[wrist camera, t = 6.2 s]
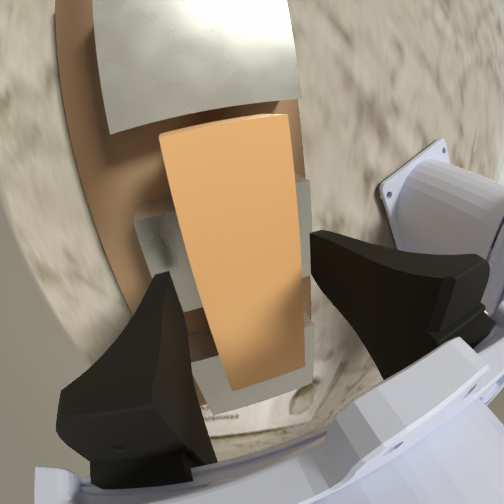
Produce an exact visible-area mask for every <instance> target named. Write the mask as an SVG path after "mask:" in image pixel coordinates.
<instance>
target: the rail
mask: <svg viewBox="0 0 504 504" xmlns="http://www.w3.org/2000/svg"><path fill="white" fill-rule="evenodd" d="M92 2H93V20H94V33H95V44H96V53H97V61H98V69H99V76H100V83H101V89H102V95H103V101H104V106H105V112H106V117H107V122H108V127H109V132H110V135H111V134H114V133H117V132H120V131H124V130H127V129H130V128H134V127H137V126H141V125H145V124H149V123H152V122H156V121H160V120H164V119H169V118H173V117H177V116H182V115H187V114H191V113H196V112H201V111H207V110H212V109H218V108H224V107H231V106H237V105H244V104H252V103H260V102H270V101H280V100H292V99H302V97H301V89H300V81H299V73H298V66H297V59H296V52H295V46H294V39H293V33H292V27H291V22H290V16H289V10H288V5H287V0H92ZM294 174H295V173H294ZM295 185H296V196H297V207H298V220H299V233H300V248H301V264H302V278H303V277H307V276H310V275H311V264H310V237H309V233H312V215H311V197H310V182H309V180H307V179H305V178H303V177H301V176H299V175H297V174H295ZM133 224H134V227H135V230H136V233H137V236H138V239H139V242H140V245H141V248H142V251H143V254H144V257H145V260H146V263H147V266H148V268H149V271H150V274H151V277H152V279H153V277H154V275H155V274H159V273H163V272H166V271H170V275H171V278H172V281H173V284H174V286H175V289H176V292H177V295H178V298H179V301H180V304H181V307H182V309H183V312H187V311H190V310H194V309H198V308H201V307H203V305H202V302H201V298H200V295H199V292H198V289H197V285H196V282H195V279H194V275H193V272H192V268H191V265H190V262H189V258H188V255H187V251H186V247H185V244H184V240H183V236H182V233H181V229H180V225H179V221H178V218H177V214H176V210H175V206H174V202H173V198H172V196H168V197H164V198H160V199H157V200H153V201H149V202H146V203H142V204H139V205H137V208H136V212H135V217H134V221H133ZM304 335H305V367H303V368H300V369H298V370H295V371H292V372H290V373H287V374H284V375H281V376H279V377H276V378H273V379H270V380H267V381H264V382H261V383H258V384H255V385H252V386H248V387H245V388H242V389H239V390H235V391H232V390H231V387H230V384H229V381H228V379H227V376H226V373H225V370H224V368H223V365H222V362H221V359H220V356H219V353H218V350H217V348H216V345H215V342H214V339H213V336H212V333H211V330H210V329H206V330H202V331H199V332H195V333H191V334H188V340H189V349H190V358H191V367H192V374H193V376H194V378H195V380H196V382H197V384H198V386H199V388H200V390H201V392H202V394H203V396H204V398H205V400H206V402H207V404H208V406H209V408H210V410H211V412H212V414H213V415H216V414H220V413H224V412H228V411H231V410H235V409H238V408H242V407H245V406H248V405H251V404H255V403H258V402H261V401H264V400H267V399H270V398H273V397H276V396H279V395H281V394H284V393H287V392H290V391H292V390H295V389H298V388H300V387H303V386H306V385H308V384H311V383H312V382H313V350H314V324H313V323H312V321H311V320H310V318H309V317H308V316H307V314H306V313H305V311H304Z"/></svg>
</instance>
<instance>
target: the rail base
mask: <svg viewBox="0 0 504 504" xmlns="http://www.w3.org/2000/svg"><path fill="white" fill-rule="evenodd" d="M55 23H56V43H57V56H58V66H59V75H60V83H61V90H62V96H63V103H64V108H65V114H66V119H67V124H68V129H69V134H70V139H71V143H72V147H73V152H74V156H75V160H76V164H77V167H78V171H79V175H80V178H81V182H82V185H83V189H84V192H85V195H86V199H87V202H88V205H89V208H90V211H91V214H92V217H93V220H94V223H95V226H96V229H97V232H98V235H99V237H100V240H101V243H102V245H103V248H104V251H105V253H106V256H107V258H108V261H109V263H110V266H111V268H112V271H113V273H114V275H115V278H116V280H117V283H118V285H119V287H120V289H121V292H122V294H123V296H124V298H125V301H126V303H127V305H128V307H129V309H130V311H131V313H132V315H134V313H135V312H136V310H137V308H138V306H139V304H140V303H141V301H142V299H143V297H144V295H145V293H146V291H147V289H148V287H149V285H150V283H151V281H152V277H151V274H150V271H149V268H148V266H147V263H146V260H145V257H144V254H143V251H142V248H141V245H140V242H139V239H138V236H137V233H136V230H135V227H134V224H133V221H134V217H135V212H136V208H137V205H139V204H142V203H146V202H149V201H153V200H157V199H160V198H164V197H168V196H172V194H171V190H170V186H169V181H168V177H167V173H166V169H165V164H164V160H163V155H162V151H161V146H160V141H159V135H160V134H161V133H165V132H169V131H173V130H177V129H181V128H186V127H190V126H195V125H199V124H204V123H209V122H214V121H220V120H225V119H231V118H237V117H243V116H250V115H257V114H288V120H289V128H290V136H291V145H292V154H293V164H294V173H295V174H297V175H299V176H301V177H303V178H305V169H304V157H303V146H302V136H301V126H300V117H299V108H298V99H292V100H280V101H270V102H260V103H252V104H244V105H237V106H231V107H224V108H218V109H212V110H207V111H201V112H196V113H191V114H187V115H182V116H177V117H173V118H169V119H164V120H160V121H156V122H152V123H149V124H145V125H141V126H137V127H134V128H130V129H127V130H124V131H120V132H117V133H114V134H111V135H110V132H109V127H108V122H107V117H106V112H105V106H104V101H103V95H102V89H101V83H100V76H99V69H98V61H97V53H96V44H95V33H94V20H93V2H92V0H56V1H55ZM302 283H303V305H304V311H305V313H306V314H307V316H308V317H309V318H310V320H311V287H310V276H307V277H303V278H302ZM183 313H184V318H185V322H186V327H187V331H188V334H191V333H195V332H199V331H202V330H206V329H210V327H209V324H208V320H207V317H206V314H205V311H204V308H203V307H201V308H198V309H194V310H190V311H187V312H183ZM192 375H193V374H192ZM193 381H194V386H195V390H196V393H197V397H198V401H199V405H200V406H201V405H205V404H207V402H206V400H205V398H204V396H203V394H202V392H201V390H200V388H199V386H198V384H197V382H196V380H195V378H194V376H193Z"/></svg>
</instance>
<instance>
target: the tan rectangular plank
mask: <svg viewBox="0 0 504 504" xmlns="http://www.w3.org/2000/svg"><path fill="white" fill-rule="evenodd" d="M159 141H160V146H161V151H162V155H163V160H164V164H165V169H166V173H167V177H168V181H169V186H170V190H171V194H172V198H173V202H174V206H175V210H176V214H177V218H178V221H179V225H180V229H181V233H182V236H183V240H184V244H185V247H186V251H187V255H188V258H189V262H190V265H191V268H192V272H193V275H194V279H195V282H196V285H197V289H198V292H199V295H200V298H201V302H202V305H203V308H204V311H205V314H206V317H207V320H208V324H209V327H210V330H211V333H212V336H213V339H214V342H215V345H216V348H217V350H218V353H219V356H220V359H221V362H222V365H223V368H224V370H225V373H226V376H227V379H228V381H229V384H230V387H231V390H232V391H235V390H239V389H242V388H245V387H248V386H252V385H255V384H258V383H261V382H264V381H267V380H270V379H273V378H276V377H279V376H281V375H284V374H287V373H290V372H292V371H295V370H298V369H300V368H303V367H305V335H304V305H303V283H302V264H301V248H300V233H299V220H298V207H297V196H296V185H295V174H294V164H293V154H292V145H291V136H290V128H289V120H288V114H257V115H250V116H243V117H237V118H231V119H225V120H220V121H214V122H209V123H204V124H199V125H195V126H190V127H186V128H181V129H177V130H173V131H169V132H165V133H161V134H160V135H159Z"/></svg>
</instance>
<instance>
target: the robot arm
mask: <svg viewBox="0 0 504 504" xmlns="http://www.w3.org/2000/svg"><path fill="white" fill-rule="evenodd" d="M379 192H380V195H381V198H382V201H383V204H384V207H385V210H386V213H387V216H388V220H389V223H390V226H391V230H392V233H393V237H394V240H395V244H396V248H397V250H395V249H390V248H386V247H382V246H378V245H374V244H370V243H367V242H364V241H360V240H357V239H354V238H350V237H347V236H344V235H341V234H337V233H334V232H330V231H325V230H320V231H316V232H312V233H309V237H310V264H311V275H312V276H313V278H314V280H315V281H316V283H317V284H318V286H319V287H320V289H321V290H322V292H323V293H324V294H325V295H326V296H327V298H328V299H329V300H330V301H331V302H332V304H333V305H334V306H335V307H336V308H337V309H338V311H339V312H340V313H341V314H342V315H343V316H344V318H345V319H346V320H347V321H348V322H349V323H350V325H351V326H352V327H353V329H354V330H355V331H356V333H357V334H358V336H359V338H360V339H361V341H362V342H363V344H364V345H365V347H366V349H367V350H368V352H369V354H370V355H371V357H372V359H373V361H374V362H375V364H376V366H377V368H378V370H379V372H380V374H381V376H382V377H383V379H384V380H383V381H382V382H380V383H378V384H376V385H374V386H372V387H371V388H369V389H368V390H366V391H365V392H363V393H362V394H360V395H358V396H357V397H355V398H354V399H352V400H351V401H350V402H349V403H348V404H347V405H346V406H344V407H343V408H342V409H341V410H340V411H339V412H338V413H337V414H336V415H335V417H334V418H333V420H332V422H331V423H330V425H328V426H326V427H323V428H321V429H319V430H316V431H314V432H311V433H309V434H306V435H304V436H301V437H299V438H296V439H293V440H291V441H288V442H285V443H282V444H280V445H277V446H274V447H271V448H268V449H265V450H261V451H258V452H255V453H252V454H248V455H245V456H241V457H237V458H234V459H230V460H226V461H222V462H218V461H217V458H216V456H215V453H214V450H213V447H212V444H211V441H210V438H209V435H208V432H207V429H206V425H205V422H204V419H203V415H202V412H201V408H200V405H199V401H198V397H197V393H196V390H195V386H194V381H193V375H192V367H191V358H190V349H189V340H188V331H187V327H186V322H185V318H184V313H183V309H182V307H181V304H180V301H179V298H178V295H177V292H176V289H175V286H174V284H173V281H172V278H171V275H170V271H166V272H163V273H159V274H155V275H154V277H153V279H152V281H151V283H150V285H149V287H148V289H147V291H146V293H145V295H144V297H143V299H142V301H141V303H140V304H139V306H138V308H137V310H136V312H135V313H134V315H133V317H132V318H131V320H130V322H129V323H128V325H127V326H126V327H125V329H124V330H123V332H122V333H121V334H120V336H119V337H118V338H117V339H116V341H115V342H114V343H113V344H112V345H111V346H110V347H109V349H108V350H107V351H106V352H105V353H104V354H103V355H102V356H101V357H100V358H99V359H98V360H97V361H96V362H95V363H94V364H93V365H92V366H91V367H90V368H89V369H88V370H87V371H86V372H84V373H83V374H82V375H81V376H80V377H78V378H77V379H76V380H75V381H73V382H72V383H71V384H69V385H68V386H67V387H66V388H64V389H63V390H61V394H60V399H59V405H58V413H57V421H56V432H57V433H58V435H59V437H60V438H61V439H62V440H63V441H64V442H65V443H66V444H67V445H68V446H69V447H71V448H72V449H74V450H75V451H76V452H77V453H79V454H80V455H82V456H83V457H84V458H86V459H87V460H89V461H90V477H91V478H80V477H79V476H78V475H76V474H75V473H73V472H71V471H70V470H67V469H64V468H59V467H44V466H36V467H35V487H34V488H35V489H34V502H35V503H34V504H504V426H503V424H502V423H501V422H500V421H499V420H498V418H497V417H496V416H495V415H494V414H493V413H492V411H491V410H490V409H489V408H488V407H487V405H488V404H489V403H490V402H491V401H492V400H493V398H494V397H495V396H496V395H497V394H498V393H499V392H500V391H501V389H502V388H503V387H504V185H503V184H500V183H498V182H496V181H493V180H491V179H489V178H486V177H484V176H481V175H479V174H476V173H473V172H471V171H468V170H465V169H463V168H460V167H457V166H454V165H451V164H450V161H449V156H448V151H447V146H446V142H445V140H444V139H441V138H439V139H437V140H436V141H435V142H434V143H432V144H431V145H430V146H428V147H427V148H426V149H425V150H423V151H422V152H421V153H419V154H418V155H417V156H416V157H414V158H413V159H412V160H410V161H409V162H408V163H407V164H405V165H404V166H403V167H401V168H400V169H399V170H397V171H396V172H395V173H394V174H392V175H391V176H390V177H388V178H387V179H386V180H384V181H383V182H382V183H381V184H380V187H379ZM387 193H388V196H387ZM485 310H486V311H487V312H488V315H487V314H486V313H484V311H485Z"/></svg>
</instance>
